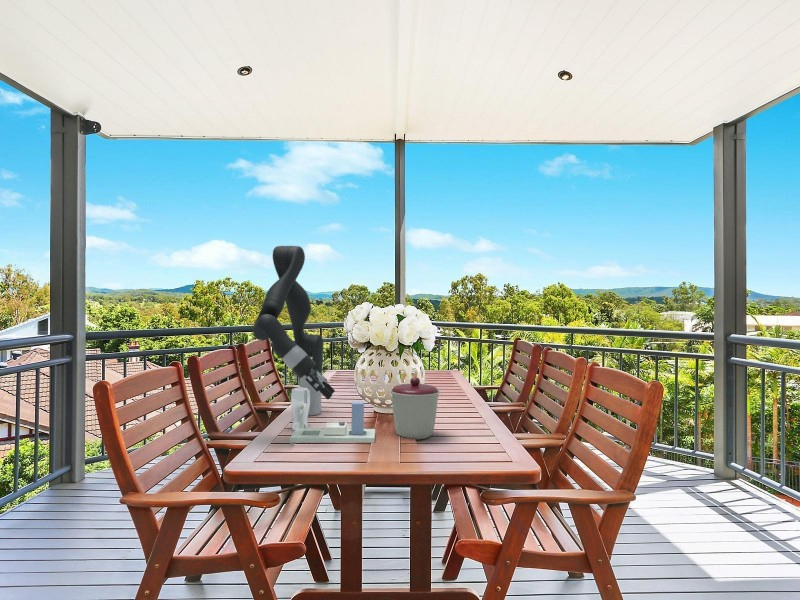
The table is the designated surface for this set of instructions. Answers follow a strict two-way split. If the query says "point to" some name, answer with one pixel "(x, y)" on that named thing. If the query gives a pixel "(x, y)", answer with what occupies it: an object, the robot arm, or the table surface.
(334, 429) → the lid
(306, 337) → the robot arm
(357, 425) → the peg
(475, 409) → the table surface
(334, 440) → the board
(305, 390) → the beer glass
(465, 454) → the table surface
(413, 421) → the canister
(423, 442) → the table surface
